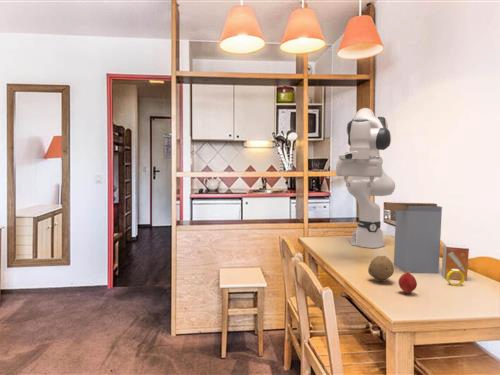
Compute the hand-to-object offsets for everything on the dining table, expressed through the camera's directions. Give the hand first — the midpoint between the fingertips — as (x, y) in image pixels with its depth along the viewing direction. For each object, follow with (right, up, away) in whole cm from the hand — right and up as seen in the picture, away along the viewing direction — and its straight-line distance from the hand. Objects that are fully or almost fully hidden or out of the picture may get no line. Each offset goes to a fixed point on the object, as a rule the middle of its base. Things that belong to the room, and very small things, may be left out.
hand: (358, 186), depth 164 cm
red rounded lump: (+6, -38, -36) cm, 52 cm away
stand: (+24, -36, -4) cm, 43 cm away
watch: (+29, -37, -25) cm, 54 cm away
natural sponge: (+2, -37, -23) cm, 43 cm away
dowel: (+19, -10, -9) cm, 23 cm away
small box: (+34, -37, -16) cm, 53 cm away
